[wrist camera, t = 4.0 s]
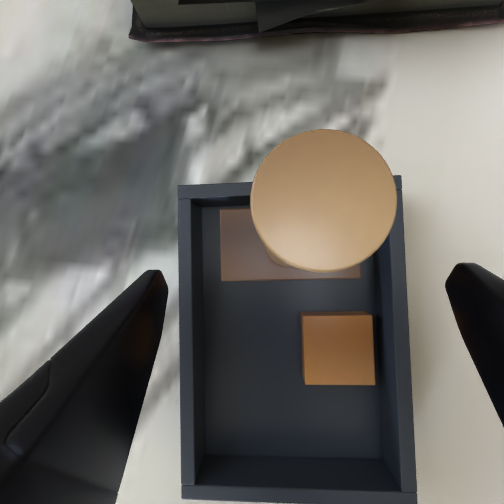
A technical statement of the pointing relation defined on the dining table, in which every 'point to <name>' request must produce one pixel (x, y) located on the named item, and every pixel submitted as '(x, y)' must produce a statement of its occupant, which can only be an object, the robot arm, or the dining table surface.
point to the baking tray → (287, 375)
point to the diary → (301, 17)
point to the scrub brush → (310, 211)
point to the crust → (337, 348)
